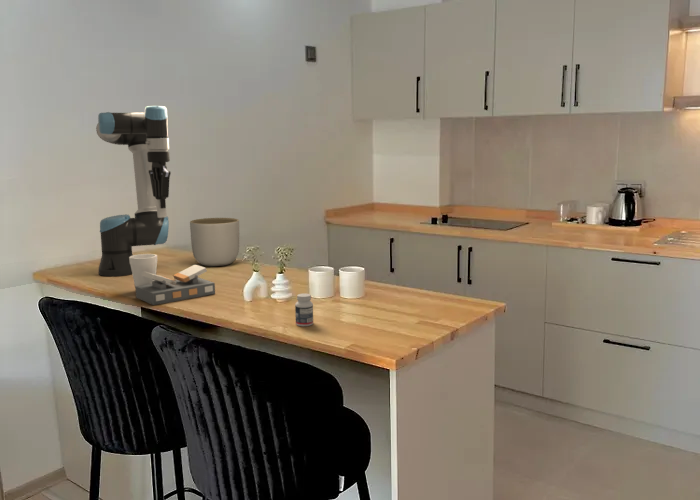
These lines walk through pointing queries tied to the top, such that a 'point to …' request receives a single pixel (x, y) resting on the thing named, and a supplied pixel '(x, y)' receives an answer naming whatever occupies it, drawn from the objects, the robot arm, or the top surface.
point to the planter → (215, 240)
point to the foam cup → (143, 267)
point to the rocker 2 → (190, 273)
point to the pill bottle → (304, 310)
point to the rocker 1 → (159, 278)
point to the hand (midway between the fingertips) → (162, 217)
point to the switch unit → (174, 291)
